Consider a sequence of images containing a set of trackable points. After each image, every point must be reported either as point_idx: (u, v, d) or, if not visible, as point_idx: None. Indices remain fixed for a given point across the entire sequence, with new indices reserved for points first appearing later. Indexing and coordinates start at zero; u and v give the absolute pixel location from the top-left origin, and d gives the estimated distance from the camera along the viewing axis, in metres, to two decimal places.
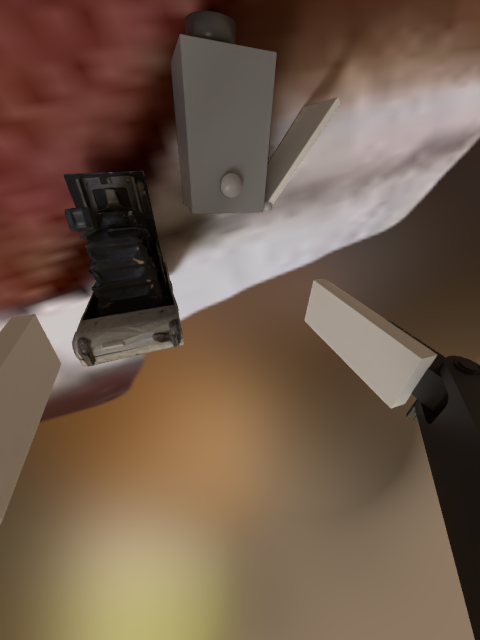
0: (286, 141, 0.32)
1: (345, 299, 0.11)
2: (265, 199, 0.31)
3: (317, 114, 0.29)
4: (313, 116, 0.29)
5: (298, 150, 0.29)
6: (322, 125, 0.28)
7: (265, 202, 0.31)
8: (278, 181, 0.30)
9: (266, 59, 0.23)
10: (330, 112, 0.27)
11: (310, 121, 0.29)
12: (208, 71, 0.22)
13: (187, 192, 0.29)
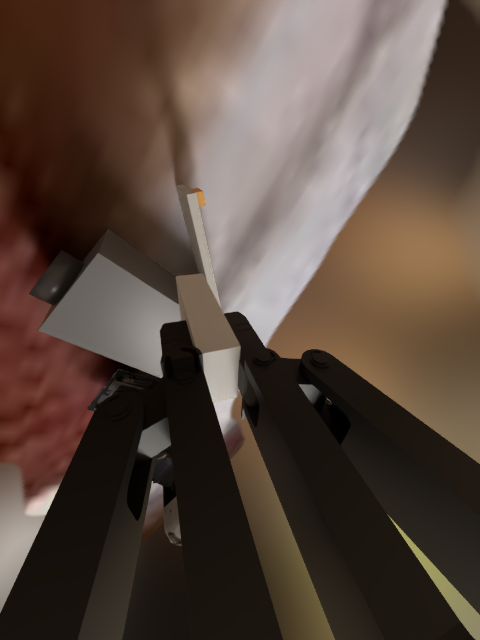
0: (189, 235, 0.27)
1: (202, 293, 0.11)
2: None
3: (187, 211, 0.22)
4: (187, 212, 0.22)
5: (201, 261, 0.24)
6: (199, 229, 0.21)
7: None
8: None
9: (98, 266, 0.20)
10: (194, 212, 0.20)
11: (189, 219, 0.23)
12: (77, 322, 0.21)
13: None
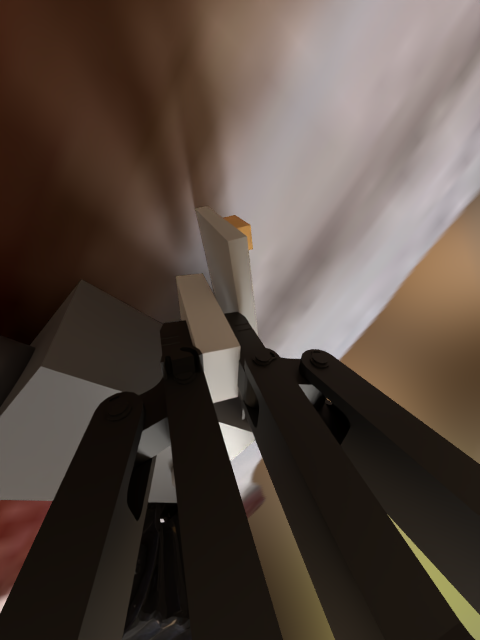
0: (215, 286, 0.16)
1: (202, 293, 0.11)
2: None
3: (221, 263, 0.12)
4: (218, 261, 0.12)
5: None
6: (245, 299, 0.11)
7: None
8: None
9: (44, 388, 0.09)
10: (240, 271, 0.10)
11: (221, 272, 0.13)
12: (14, 472, 0.11)
13: None
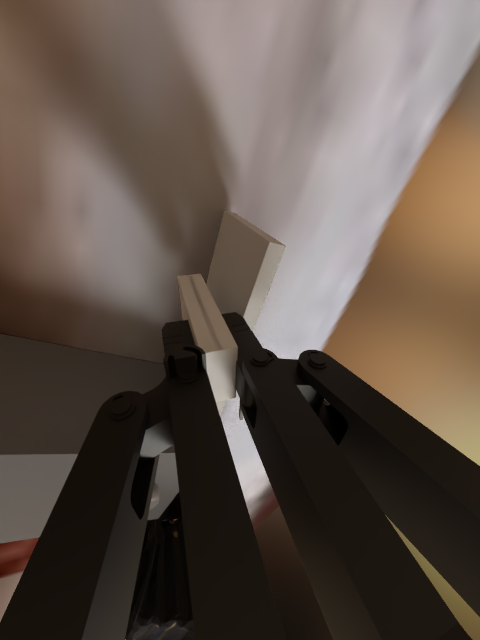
0: (211, 287, 0.16)
1: (199, 293, 0.11)
2: None
3: (242, 263, 0.12)
4: (237, 261, 0.13)
5: None
6: (256, 303, 0.11)
7: None
8: None
9: None
10: (265, 274, 0.10)
11: (234, 272, 0.13)
12: None
13: None
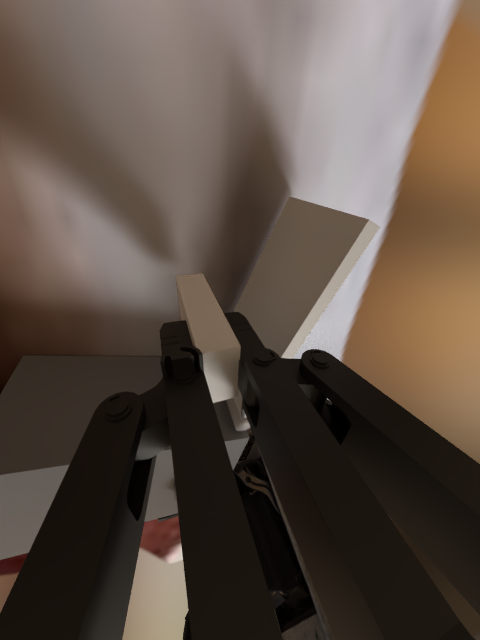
0: (263, 270, 0.16)
1: (202, 293, 0.11)
2: (237, 405, 0.16)
3: (320, 243, 0.12)
4: (311, 242, 0.13)
5: (287, 325, 0.13)
6: (336, 281, 0.11)
7: (237, 418, 0.15)
8: None
9: None
10: (353, 253, 0.11)
11: (306, 253, 0.13)
12: (29, 535, 0.14)
13: None
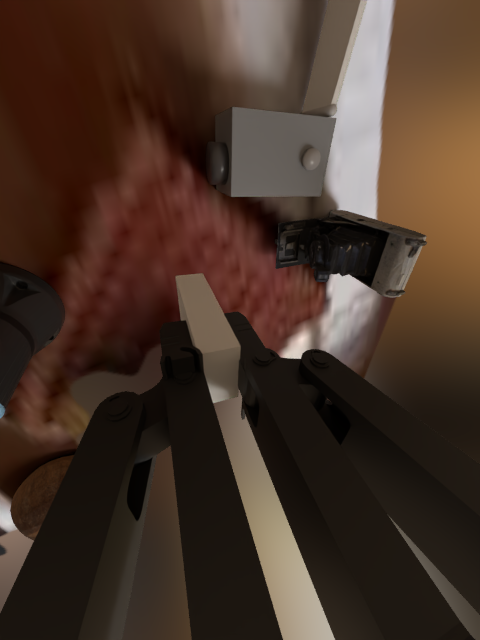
0: (327, 29, 0.30)
1: (202, 293, 0.11)
2: (327, 103, 0.31)
3: None
4: None
5: (347, 29, 0.27)
6: None
7: (328, 106, 0.30)
8: (336, 76, 0.29)
9: (237, 118, 0.27)
10: None
11: None
12: (246, 176, 0.31)
13: None
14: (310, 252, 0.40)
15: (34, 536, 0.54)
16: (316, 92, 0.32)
